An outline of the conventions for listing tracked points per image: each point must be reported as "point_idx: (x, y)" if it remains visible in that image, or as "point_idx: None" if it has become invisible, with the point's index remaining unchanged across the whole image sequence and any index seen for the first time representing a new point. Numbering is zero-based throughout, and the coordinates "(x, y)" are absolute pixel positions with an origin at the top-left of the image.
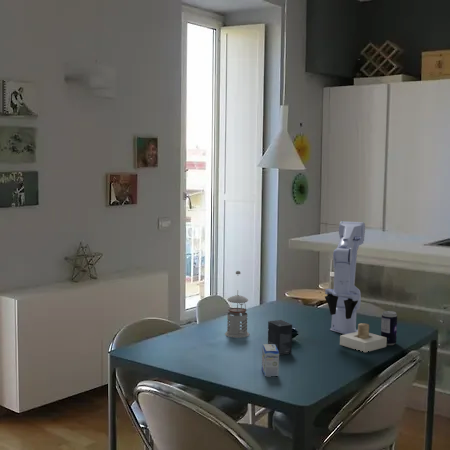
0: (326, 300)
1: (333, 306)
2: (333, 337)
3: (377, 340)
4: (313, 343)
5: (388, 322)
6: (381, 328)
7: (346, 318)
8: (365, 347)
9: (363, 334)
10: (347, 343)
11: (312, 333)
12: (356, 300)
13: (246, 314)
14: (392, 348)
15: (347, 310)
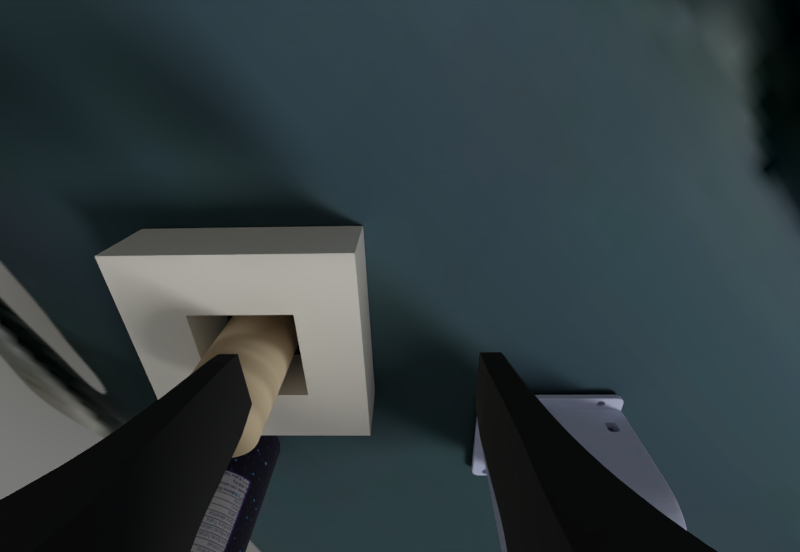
0: (673, 525)
1: (506, 473)
2: (508, 311)
3: (146, 366)
4: (509, 80)
5: None
6: (228, 489)
7: (224, 355)
8: (120, 245)
9: (207, 351)
10: (286, 236)
11: (672, 273)
12: None
13: None
14: None
15: (108, 437)
